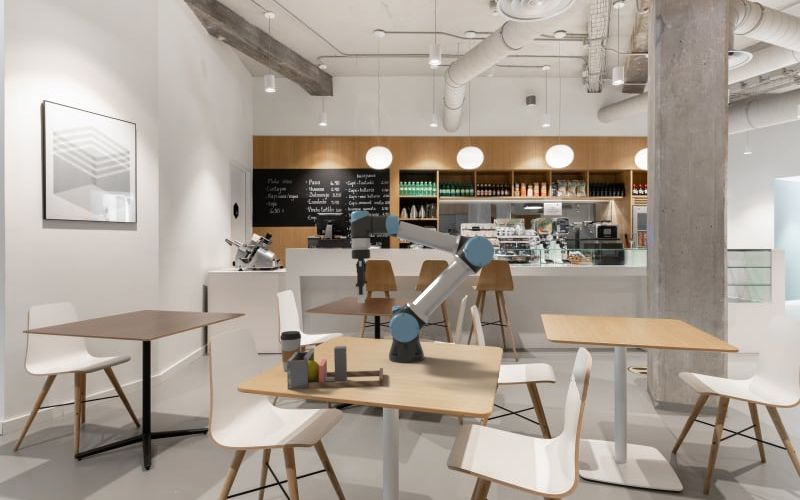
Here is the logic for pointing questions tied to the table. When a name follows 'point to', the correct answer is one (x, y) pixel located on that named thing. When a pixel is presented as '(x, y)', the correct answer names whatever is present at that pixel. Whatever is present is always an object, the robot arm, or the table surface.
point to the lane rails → (351, 383)
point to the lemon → (313, 371)
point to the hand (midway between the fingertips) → (362, 301)
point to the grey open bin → (299, 369)
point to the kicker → (340, 366)
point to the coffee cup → (289, 345)
